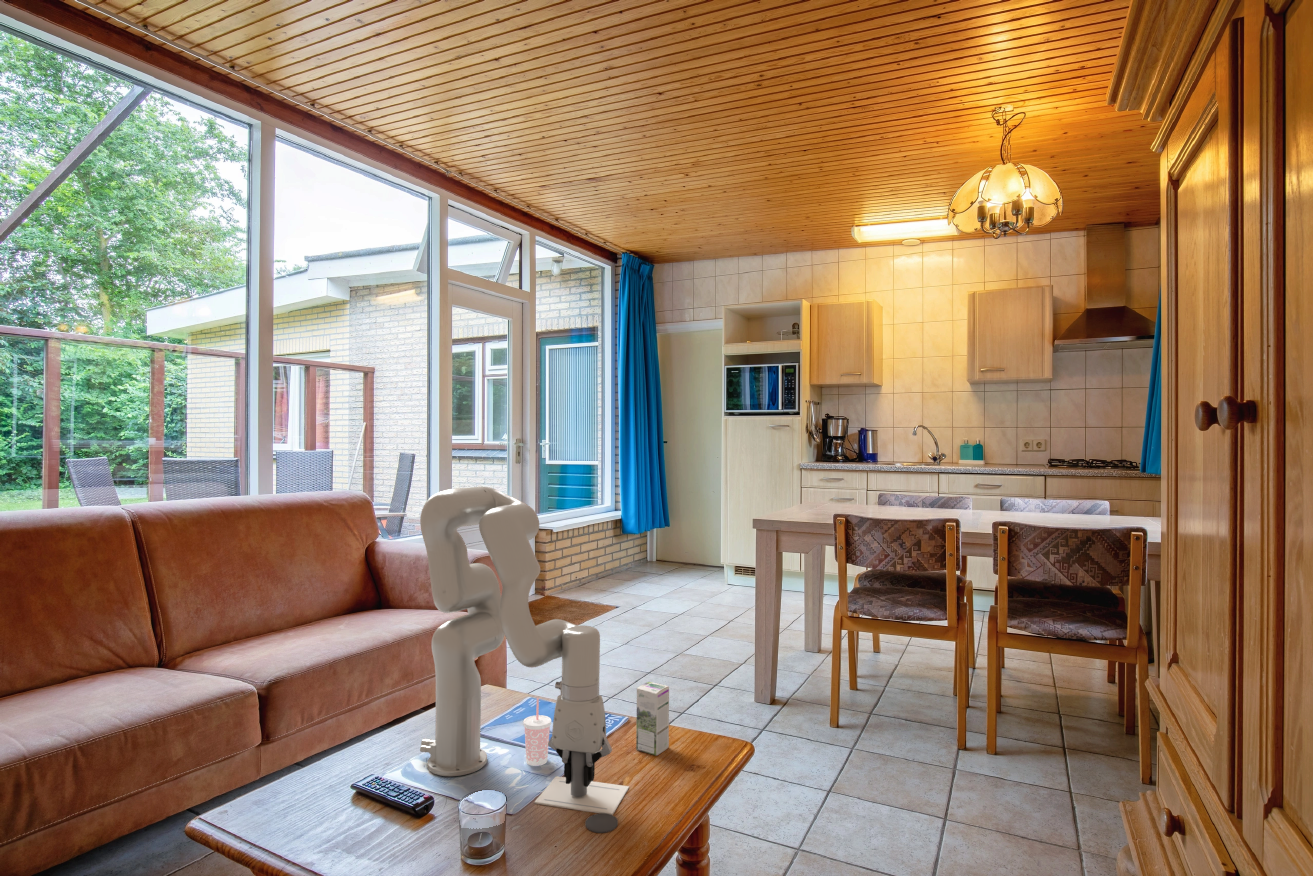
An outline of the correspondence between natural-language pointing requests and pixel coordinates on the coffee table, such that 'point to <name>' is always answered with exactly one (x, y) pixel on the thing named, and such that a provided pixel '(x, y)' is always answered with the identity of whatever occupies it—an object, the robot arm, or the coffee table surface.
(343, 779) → the coffee table surface
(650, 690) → the syrup box
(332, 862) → the coffee table surface
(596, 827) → the coaster
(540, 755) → the beverage cup
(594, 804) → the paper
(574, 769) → the marker
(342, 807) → the coffee table surface
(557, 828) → the coffee table surface
